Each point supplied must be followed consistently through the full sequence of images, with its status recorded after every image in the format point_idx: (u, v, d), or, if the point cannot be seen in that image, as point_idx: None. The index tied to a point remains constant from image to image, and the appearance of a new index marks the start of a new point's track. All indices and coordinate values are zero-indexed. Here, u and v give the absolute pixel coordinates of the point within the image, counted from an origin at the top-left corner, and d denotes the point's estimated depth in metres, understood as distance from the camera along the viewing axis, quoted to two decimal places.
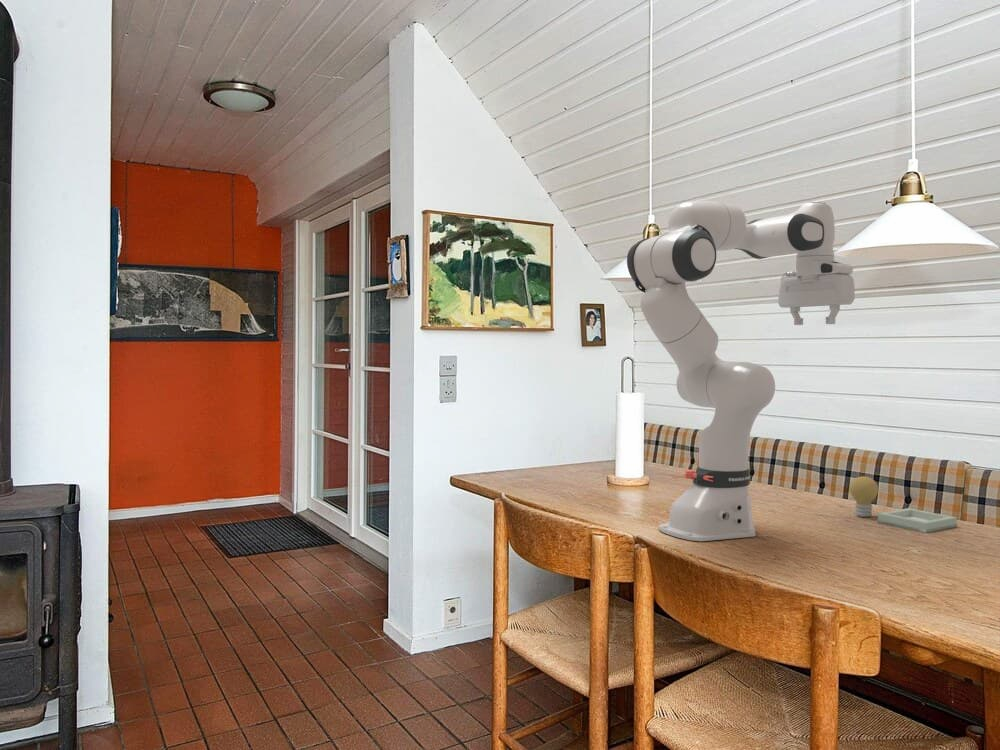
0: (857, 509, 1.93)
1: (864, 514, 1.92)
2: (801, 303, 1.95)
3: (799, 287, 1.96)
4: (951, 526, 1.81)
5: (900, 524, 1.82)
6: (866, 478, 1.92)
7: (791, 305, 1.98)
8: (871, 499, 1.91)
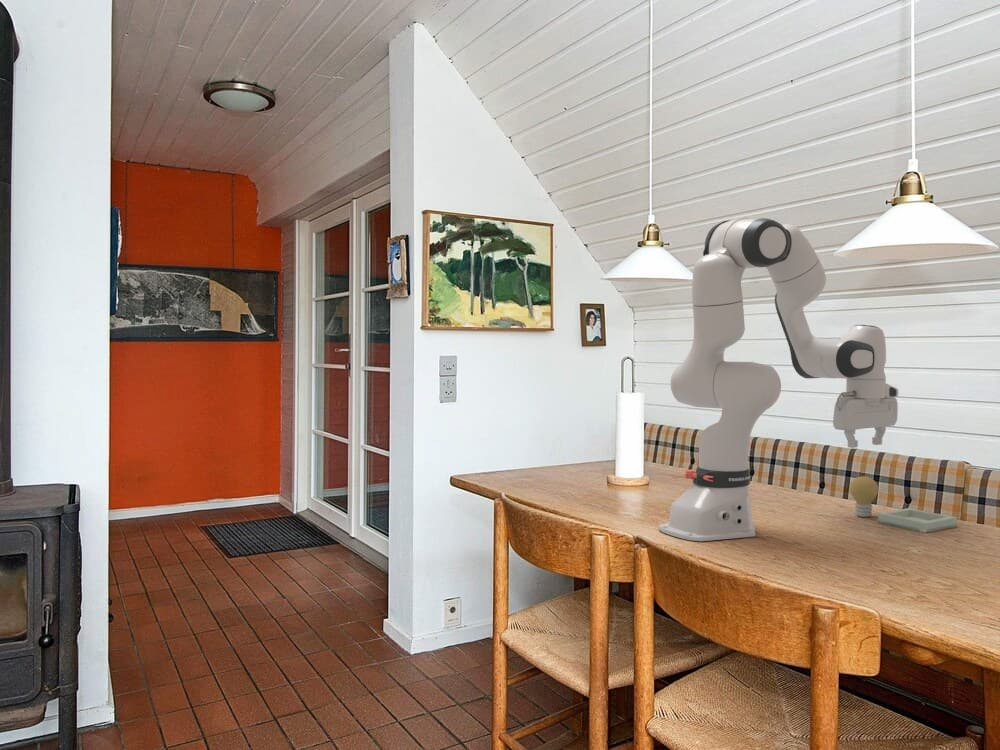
0: (857, 509, 1.93)
1: (864, 514, 1.92)
2: (865, 425, 1.90)
3: (862, 409, 1.89)
4: (951, 526, 1.81)
5: (900, 524, 1.82)
6: (866, 478, 1.92)
7: (856, 428, 1.88)
8: (871, 499, 1.91)
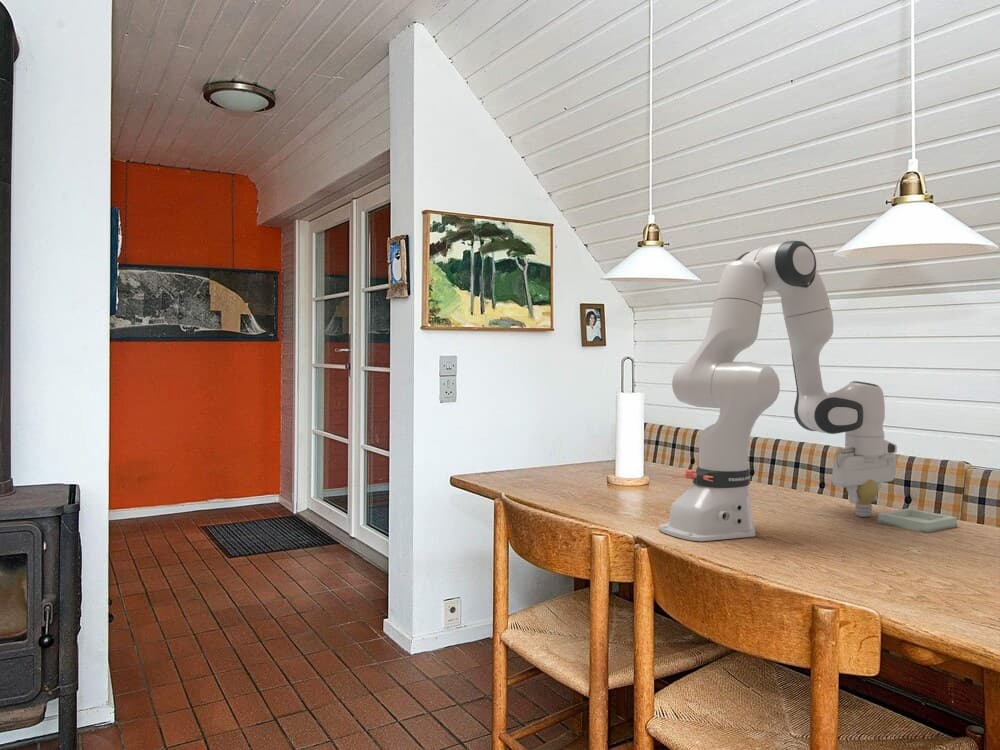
0: (857, 509, 1.93)
1: (864, 514, 1.92)
2: (863, 482, 1.90)
3: (860, 465, 1.90)
4: (951, 526, 1.81)
5: (900, 524, 1.82)
6: None
7: (855, 485, 1.89)
8: (871, 499, 1.91)
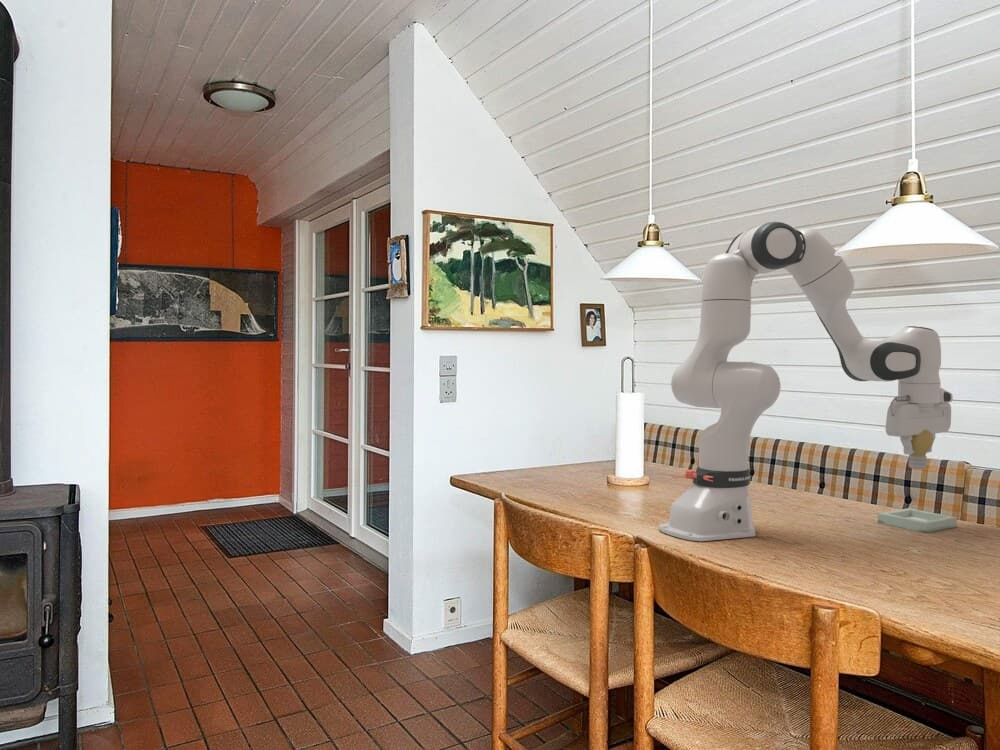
0: (911, 461, 1.83)
1: (918, 466, 1.82)
2: (919, 432, 1.81)
3: (915, 414, 1.80)
4: (951, 526, 1.81)
5: (900, 524, 1.82)
6: None
7: (910, 434, 1.79)
8: (926, 450, 1.81)
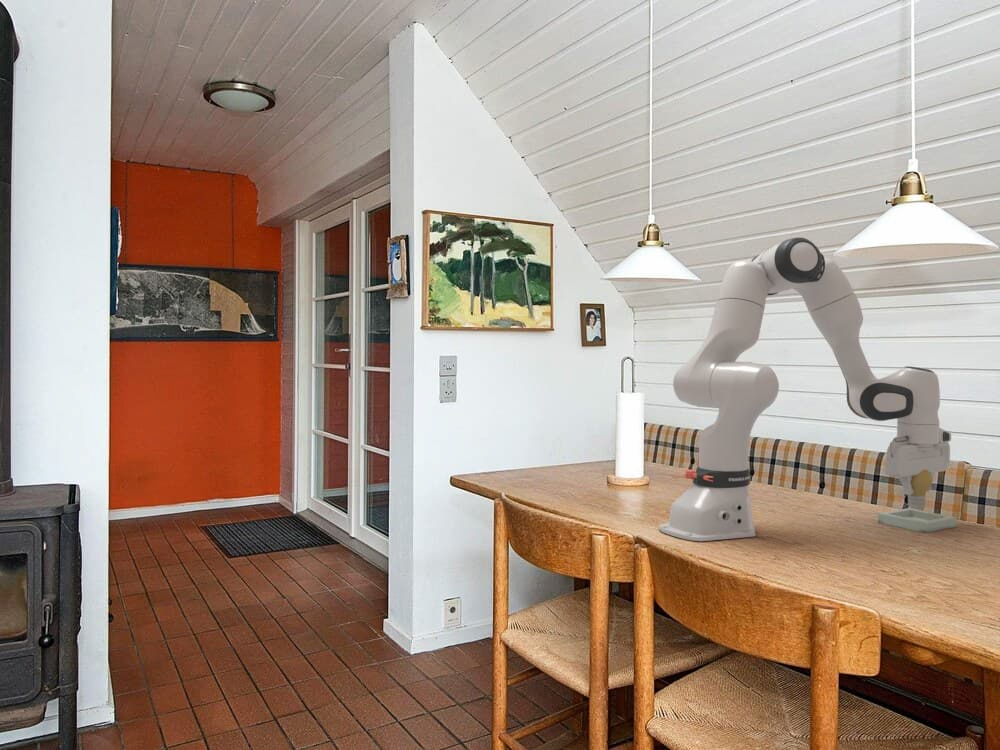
0: (910, 501, 1.84)
1: (918, 506, 1.83)
2: (918, 472, 1.81)
3: (914, 455, 1.81)
4: (951, 526, 1.81)
5: (900, 524, 1.82)
6: None
7: (909, 475, 1.80)
8: (925, 490, 1.82)
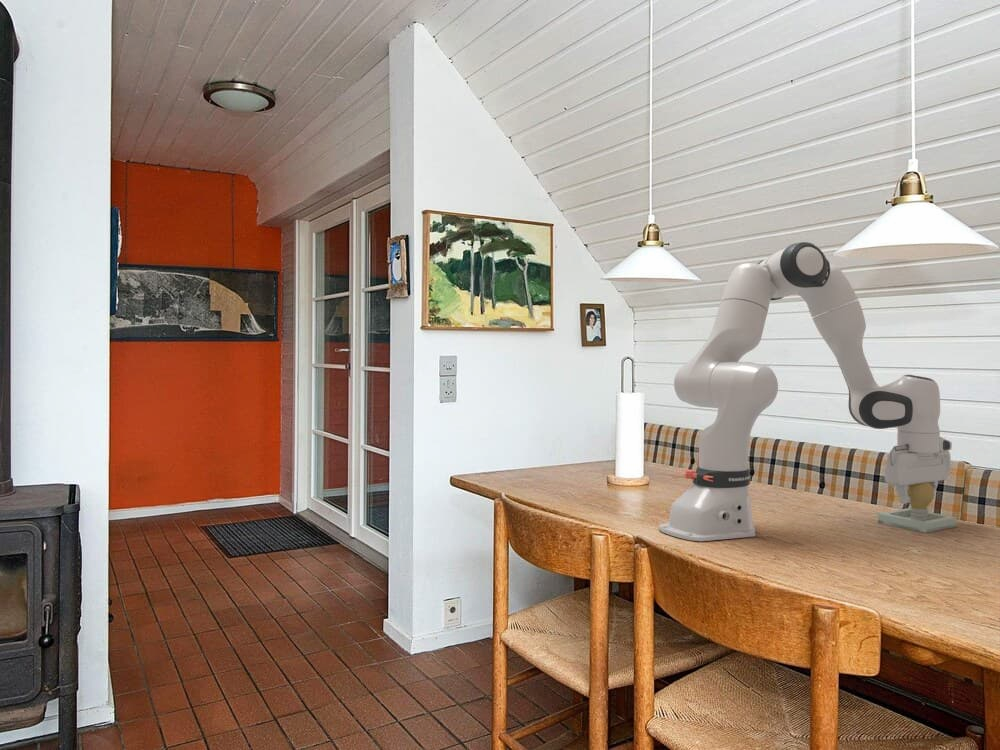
0: (913, 514, 1.84)
1: (920, 519, 1.83)
2: (918, 481, 1.81)
3: (915, 463, 1.81)
4: (951, 526, 1.81)
5: (900, 524, 1.82)
6: None
7: (909, 483, 1.80)
8: (927, 503, 1.82)
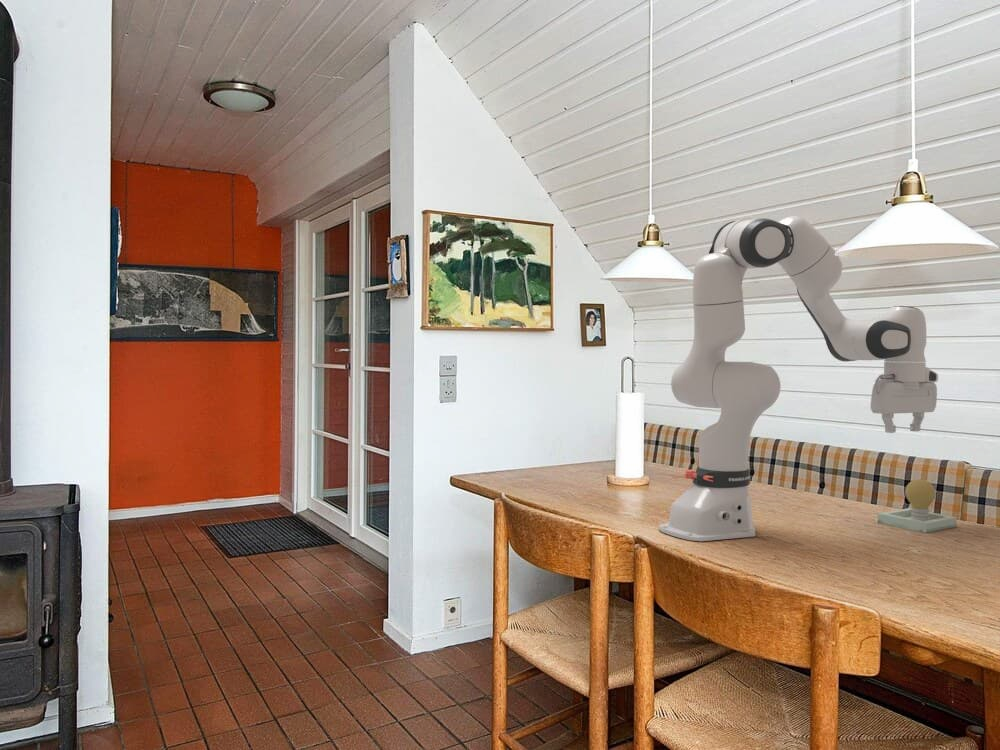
0: (913, 514, 1.84)
1: (921, 519, 1.83)
2: (904, 410, 1.83)
3: (900, 392, 1.83)
4: (951, 526, 1.81)
5: (900, 524, 1.82)
6: (923, 481, 1.83)
7: (895, 412, 1.81)
8: (928, 503, 1.83)
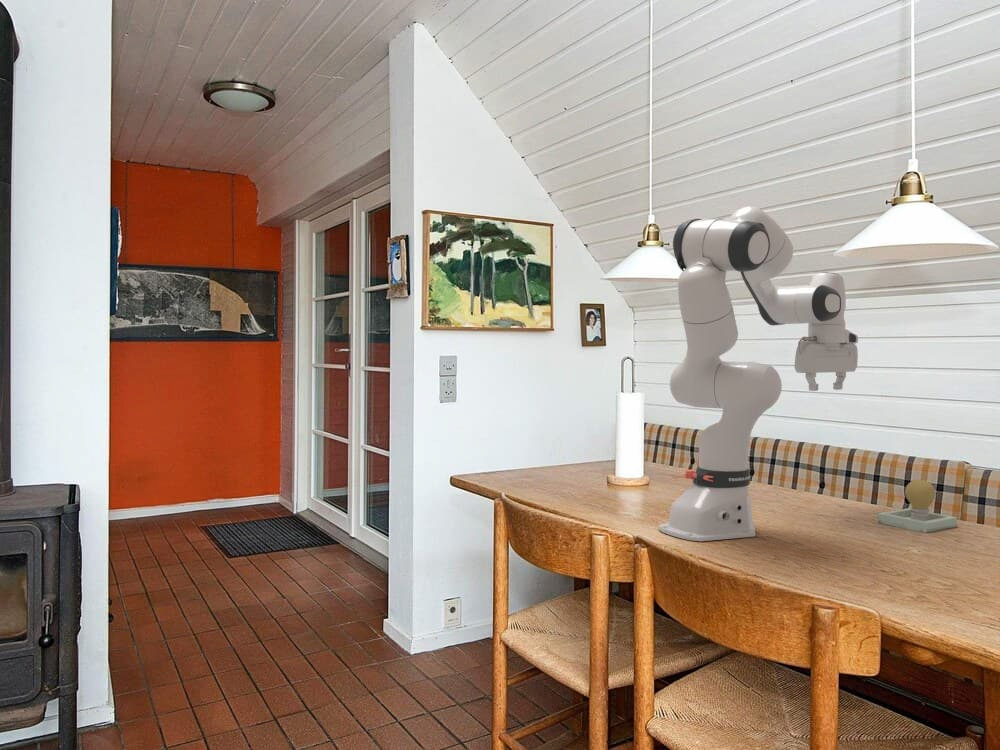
0: (913, 514, 1.84)
1: (921, 519, 1.83)
2: (825, 369, 1.97)
3: (822, 353, 1.96)
4: (951, 526, 1.81)
5: (900, 524, 1.82)
6: (923, 481, 1.83)
7: (817, 371, 1.95)
8: (928, 503, 1.83)
